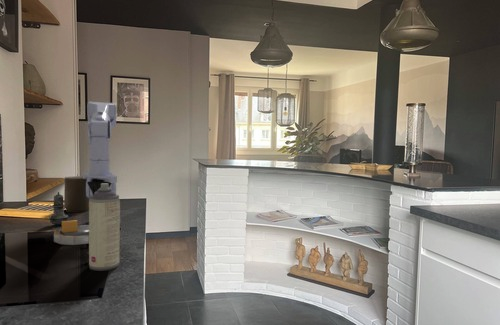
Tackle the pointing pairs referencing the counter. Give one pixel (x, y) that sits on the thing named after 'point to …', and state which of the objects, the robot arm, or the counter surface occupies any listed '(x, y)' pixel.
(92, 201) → the aerosol can
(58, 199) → the grey chess piece
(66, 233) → the dial
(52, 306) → the counter surface
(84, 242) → the dial plate
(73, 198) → the pillar candle
